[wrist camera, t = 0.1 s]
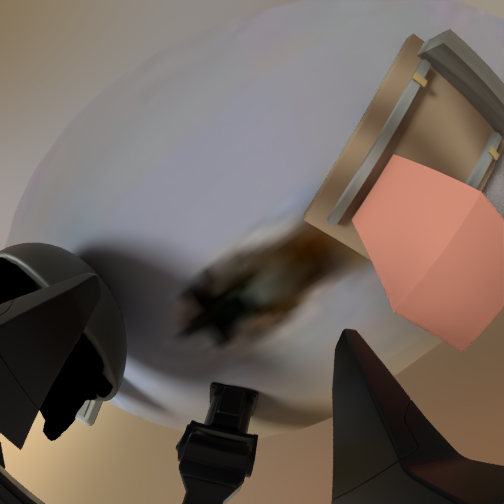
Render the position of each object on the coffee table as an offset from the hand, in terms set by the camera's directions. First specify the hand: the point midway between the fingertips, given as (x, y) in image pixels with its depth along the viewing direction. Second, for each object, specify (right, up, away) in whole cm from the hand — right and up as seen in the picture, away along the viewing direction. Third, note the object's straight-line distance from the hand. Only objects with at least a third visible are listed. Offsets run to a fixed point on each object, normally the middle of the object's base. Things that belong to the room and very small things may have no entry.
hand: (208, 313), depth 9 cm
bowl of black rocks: (-19, -2, +21) cm, 29 cm away
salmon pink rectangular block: (+13, +5, +10) cm, 17 cm away
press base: (+15, +9, +9) cm, 20 cm away
